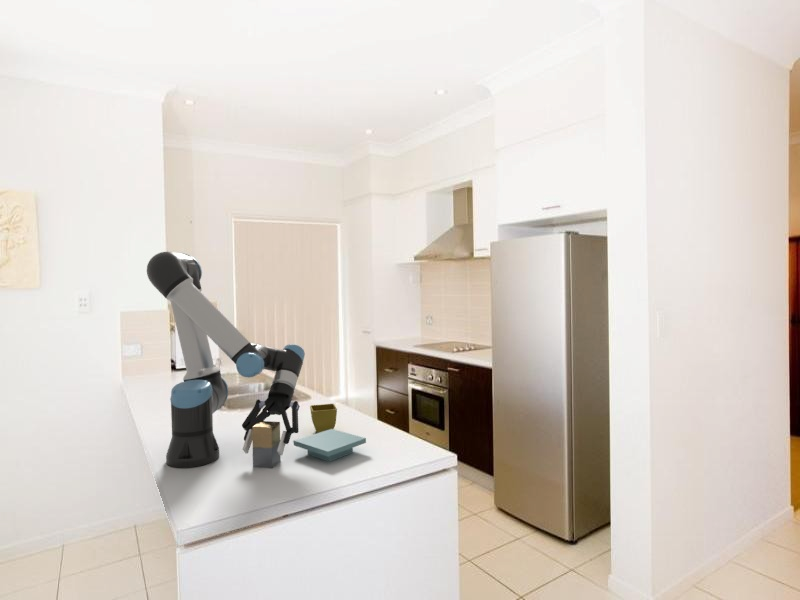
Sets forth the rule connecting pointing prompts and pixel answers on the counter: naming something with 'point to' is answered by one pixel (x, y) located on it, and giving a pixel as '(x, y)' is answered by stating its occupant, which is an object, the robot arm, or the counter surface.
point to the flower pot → (323, 417)
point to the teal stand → (329, 444)
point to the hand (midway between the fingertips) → (262, 452)
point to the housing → (266, 444)
